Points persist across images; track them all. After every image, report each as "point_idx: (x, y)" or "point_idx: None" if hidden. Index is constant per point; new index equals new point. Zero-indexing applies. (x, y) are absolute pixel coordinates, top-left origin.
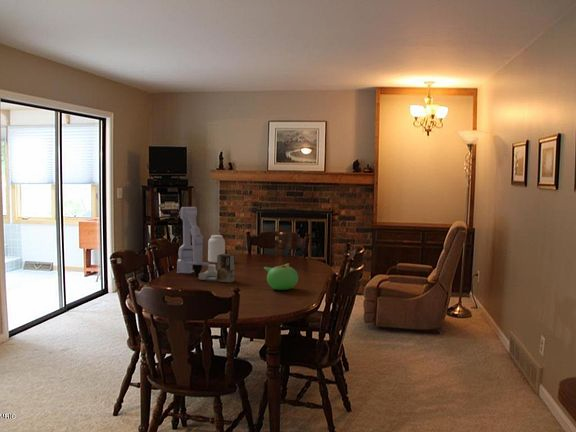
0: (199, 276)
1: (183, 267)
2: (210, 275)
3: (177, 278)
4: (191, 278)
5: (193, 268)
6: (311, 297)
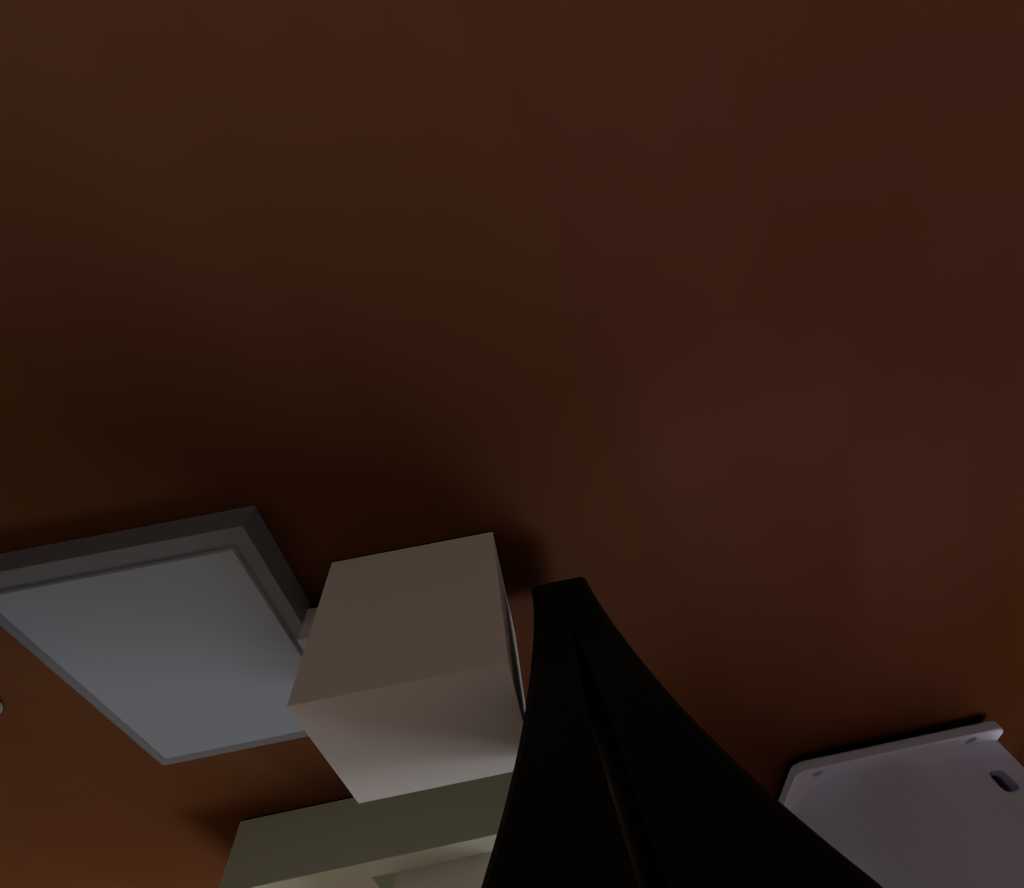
0: (474, 592)
1: (980, 853)
2: (431, 795)
3: (1012, 420)
4: (689, 542)
5: (810, 841)
6: None
